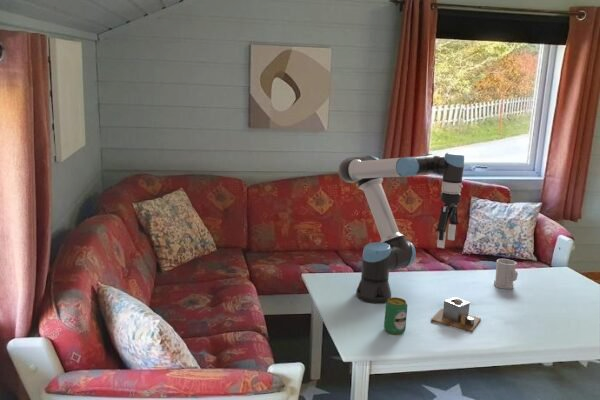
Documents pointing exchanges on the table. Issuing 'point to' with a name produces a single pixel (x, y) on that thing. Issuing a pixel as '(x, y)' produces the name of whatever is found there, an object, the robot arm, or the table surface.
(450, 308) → the grey hollow square block
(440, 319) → the post base
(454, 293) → the table surface
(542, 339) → the table surface
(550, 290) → the table surface
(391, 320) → the beverage can
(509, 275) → the cup
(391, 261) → the robot arm
